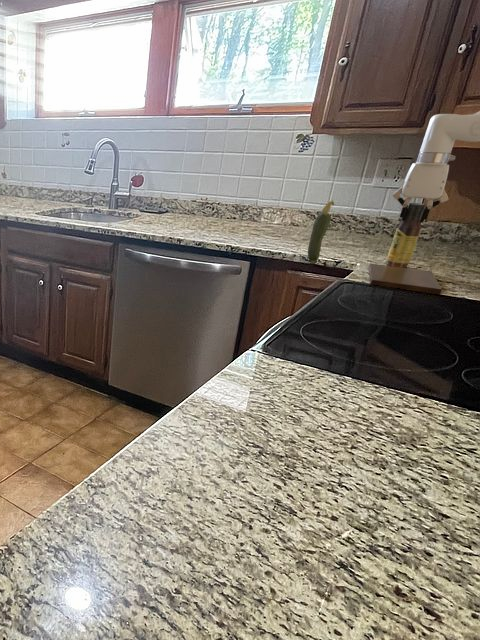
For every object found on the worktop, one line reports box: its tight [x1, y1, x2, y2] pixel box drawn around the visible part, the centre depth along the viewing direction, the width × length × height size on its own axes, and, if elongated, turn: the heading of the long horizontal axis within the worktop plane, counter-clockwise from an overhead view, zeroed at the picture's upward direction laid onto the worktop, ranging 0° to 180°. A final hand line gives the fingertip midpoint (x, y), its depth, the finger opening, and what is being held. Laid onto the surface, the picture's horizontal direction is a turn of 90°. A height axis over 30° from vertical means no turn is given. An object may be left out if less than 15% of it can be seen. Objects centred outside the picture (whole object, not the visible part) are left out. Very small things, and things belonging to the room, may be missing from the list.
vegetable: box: [307, 200, 335, 265], centre depth 168 cm, size 4×4×20 cm
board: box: [367, 263, 443, 295], centre depth 155 cm, size 16×24×2 cm, turn 148°
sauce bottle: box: [385, 202, 426, 268], centre depth 167 cm, size 6×6×20 cm
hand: (411, 220), depth 165 cm, fingers closed on sauce bottle, 4 cm apart
